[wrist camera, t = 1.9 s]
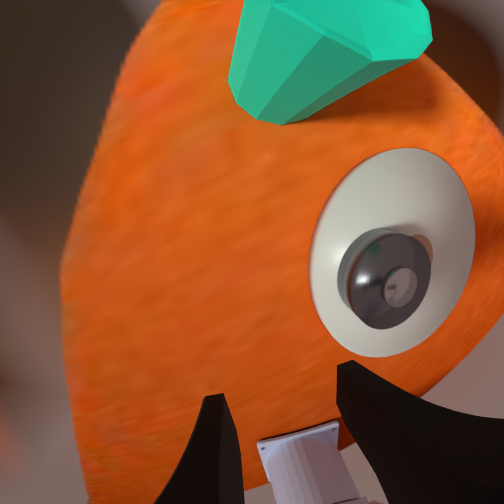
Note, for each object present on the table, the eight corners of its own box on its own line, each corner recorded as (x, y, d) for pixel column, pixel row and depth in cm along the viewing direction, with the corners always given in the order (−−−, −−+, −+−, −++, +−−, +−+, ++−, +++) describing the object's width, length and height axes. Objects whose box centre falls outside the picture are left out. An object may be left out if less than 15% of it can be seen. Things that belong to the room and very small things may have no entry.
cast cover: (407, 300, 18) (432, 316, 15) (338, 323, 18) (358, 346, 15) (409, 221, 17) (438, 229, 14) (333, 236, 16) (357, 248, 13)
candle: (225, 41, 13) (254, -109, 2) (317, 45, 14) (426, -57, 2) (230, 126, 15) (279, 6, 3) (327, 126, 16) (486, 74, 4)
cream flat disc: (457, 315, 21) (464, 320, 20) (315, 373, 20) (320, 382, 19) (462, 149, 17) (471, 149, 16) (292, 156, 16) (298, 155, 15)
